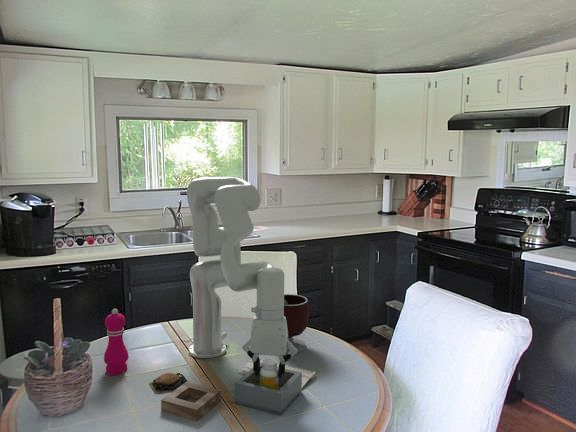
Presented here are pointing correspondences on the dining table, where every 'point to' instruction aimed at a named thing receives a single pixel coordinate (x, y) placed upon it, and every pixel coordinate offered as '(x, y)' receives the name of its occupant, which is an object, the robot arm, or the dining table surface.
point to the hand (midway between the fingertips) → (269, 374)
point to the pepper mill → (115, 344)
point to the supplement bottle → (269, 374)
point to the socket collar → (189, 409)
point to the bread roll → (167, 382)
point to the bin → (268, 392)
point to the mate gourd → (296, 318)
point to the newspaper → (305, 373)
